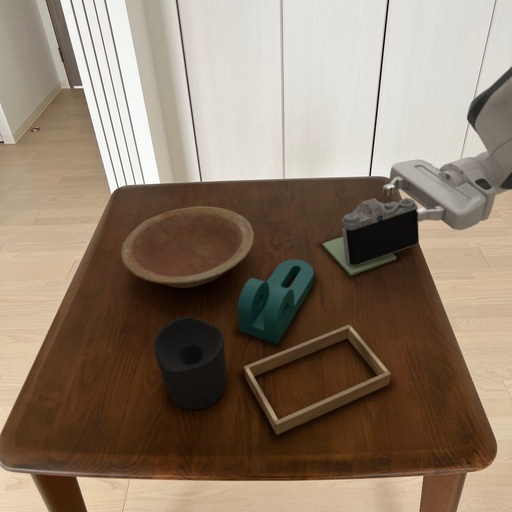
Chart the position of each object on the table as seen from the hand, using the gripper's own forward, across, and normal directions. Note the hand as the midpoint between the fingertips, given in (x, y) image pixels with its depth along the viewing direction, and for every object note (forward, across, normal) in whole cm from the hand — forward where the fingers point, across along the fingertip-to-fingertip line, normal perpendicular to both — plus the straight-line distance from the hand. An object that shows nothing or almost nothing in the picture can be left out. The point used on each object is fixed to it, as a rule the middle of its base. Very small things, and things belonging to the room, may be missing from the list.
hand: (400, 203), depth 94 cm
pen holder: (+46, +15, +9) cm, 49 cm away
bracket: (+27, +5, +9) cm, 29 cm away
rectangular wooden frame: (+30, +22, +8) cm, 38 cm away
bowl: (+38, -10, +9) cm, 41 cm away
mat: (+8, 0, +8) cm, 12 cm away
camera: (+5, +2, +7) cm, 9 cm away
